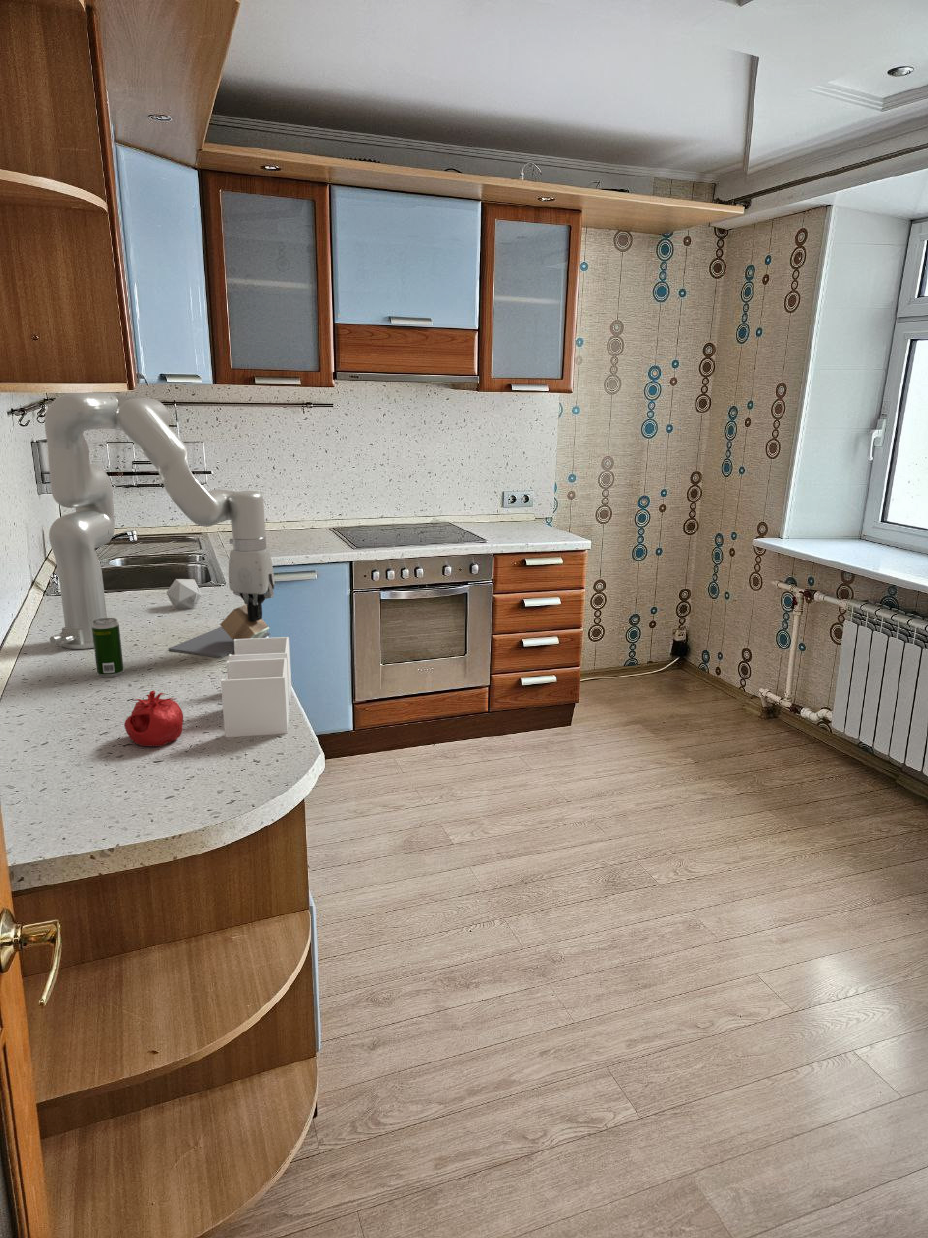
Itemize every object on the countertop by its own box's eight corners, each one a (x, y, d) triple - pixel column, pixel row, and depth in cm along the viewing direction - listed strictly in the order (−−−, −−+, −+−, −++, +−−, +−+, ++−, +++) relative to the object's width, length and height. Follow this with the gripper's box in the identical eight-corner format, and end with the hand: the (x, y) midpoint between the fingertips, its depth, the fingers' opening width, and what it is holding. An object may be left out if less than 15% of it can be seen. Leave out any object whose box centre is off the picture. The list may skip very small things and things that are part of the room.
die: (182, 615, 224) (202, 585, 225) (156, 598, 224) (176, 568, 225) (192, 618, 233) (211, 589, 234) (166, 602, 233) (186, 573, 234)
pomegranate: (175, 723, 150) (171, 676, 147) (193, 742, 142) (189, 692, 140) (119, 736, 144) (114, 687, 142) (135, 756, 136) (129, 705, 134)
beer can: (125, 675, 175) (119, 622, 172) (98, 679, 172) (92, 625, 169) (122, 668, 179) (116, 616, 176) (96, 671, 177) (90, 619, 174)
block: (255, 634, 190) (233, 609, 191) (241, 649, 193) (219, 624, 193) (269, 628, 196) (248, 603, 196) (255, 642, 198) (234, 618, 199)
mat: (221, 657, 187) (220, 655, 187) (168, 650, 192) (168, 648, 192) (269, 634, 205) (269, 633, 205) (220, 628, 210) (220, 626, 210)
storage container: (287, 734, 146) (284, 677, 143) (225, 738, 144) (220, 680, 141) (291, 686, 170) (288, 637, 167) (237, 689, 168) (234, 639, 165)
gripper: (213, 545, 187) (219, 621, 192) (267, 549, 182) (273, 627, 187) (232, 540, 194) (238, 613, 199) (286, 543, 189) (290, 619, 194)
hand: (255, 619), depth 193 cm, fingers closed
